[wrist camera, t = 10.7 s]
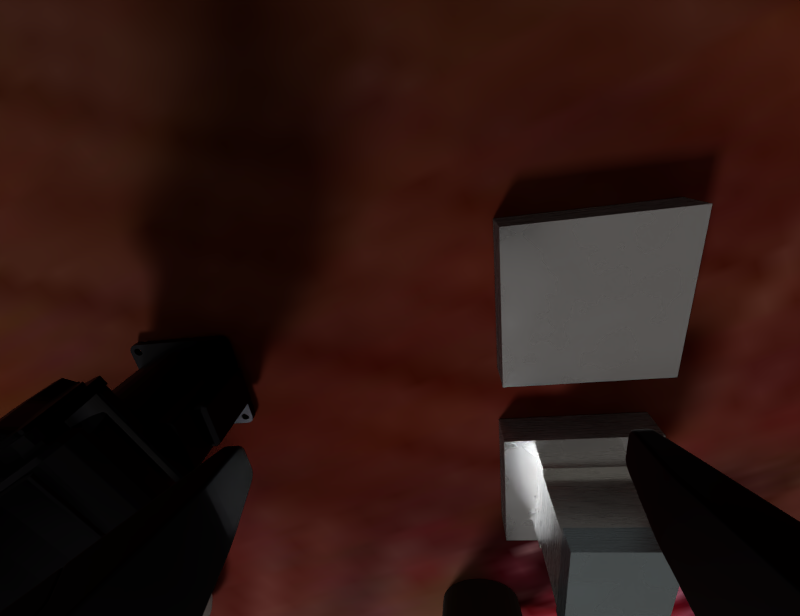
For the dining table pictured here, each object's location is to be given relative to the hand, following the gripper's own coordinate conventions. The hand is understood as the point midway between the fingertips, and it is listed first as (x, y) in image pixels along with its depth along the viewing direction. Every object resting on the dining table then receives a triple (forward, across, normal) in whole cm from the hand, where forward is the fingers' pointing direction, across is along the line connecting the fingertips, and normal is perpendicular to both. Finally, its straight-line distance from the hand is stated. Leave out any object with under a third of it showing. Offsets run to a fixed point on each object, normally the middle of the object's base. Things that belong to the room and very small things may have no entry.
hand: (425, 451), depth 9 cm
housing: (+11, -8, +15) cm, 20 cm away
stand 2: (+13, -8, +15) cm, 21 cm away
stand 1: (+13, -8, +2) cm, 15 cm away
